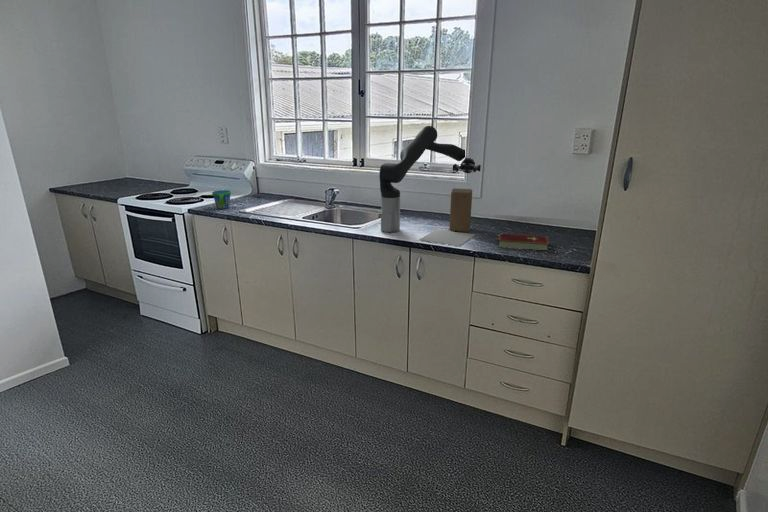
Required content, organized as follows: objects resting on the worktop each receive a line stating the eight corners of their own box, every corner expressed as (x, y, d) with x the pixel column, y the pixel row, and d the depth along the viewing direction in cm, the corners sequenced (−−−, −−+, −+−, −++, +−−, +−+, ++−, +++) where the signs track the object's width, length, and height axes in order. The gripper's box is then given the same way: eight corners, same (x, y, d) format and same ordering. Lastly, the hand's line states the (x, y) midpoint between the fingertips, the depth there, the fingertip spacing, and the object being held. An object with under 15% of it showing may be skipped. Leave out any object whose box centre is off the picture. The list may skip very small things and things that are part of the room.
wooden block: (469, 232, 224) (472, 192, 217) (449, 231, 225) (451, 191, 219) (470, 227, 233) (472, 188, 226) (450, 226, 235) (452, 188, 228)
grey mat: (459, 246, 202) (459, 246, 202) (418, 240, 211) (418, 239, 211) (474, 235, 219) (474, 234, 219) (436, 230, 228) (436, 229, 228)
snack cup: (230, 210, 270) (228, 193, 267) (212, 211, 268) (209, 194, 265) (234, 205, 284) (232, 189, 281) (216, 205, 283) (214, 189, 279)
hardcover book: (498, 241, 212) (499, 232, 210) (546, 244, 206) (547, 235, 205) (497, 248, 201) (498, 239, 199) (547, 252, 195) (549, 243, 194)
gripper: (455, 157, 246) (451, 162, 231) (482, 158, 242) (480, 162, 228) (454, 171, 248) (451, 176, 234) (481, 172, 245) (479, 177, 230)
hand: (465, 169), depth 231 cm, fingers open, 8 cm apart
